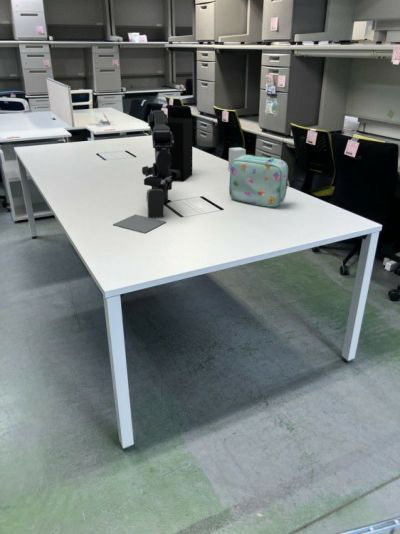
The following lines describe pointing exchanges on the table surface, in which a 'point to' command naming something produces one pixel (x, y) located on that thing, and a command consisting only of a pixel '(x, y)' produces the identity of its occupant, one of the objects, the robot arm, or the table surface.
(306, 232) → the table surface
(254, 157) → the lunch box
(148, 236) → the table surface
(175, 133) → the video game console
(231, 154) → the supplement box
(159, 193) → the battery charger
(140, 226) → the mat
